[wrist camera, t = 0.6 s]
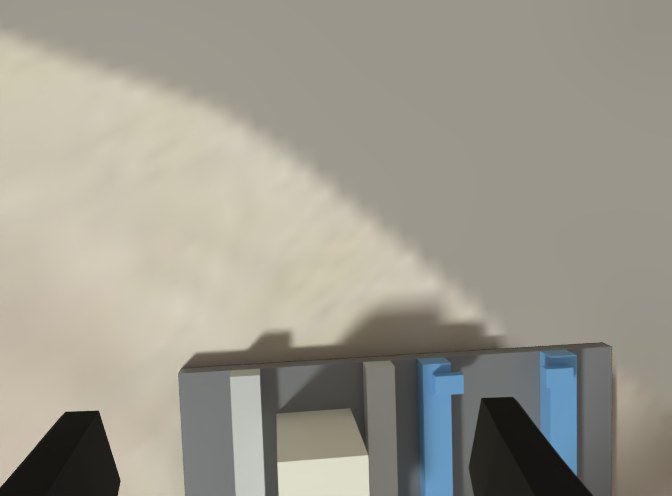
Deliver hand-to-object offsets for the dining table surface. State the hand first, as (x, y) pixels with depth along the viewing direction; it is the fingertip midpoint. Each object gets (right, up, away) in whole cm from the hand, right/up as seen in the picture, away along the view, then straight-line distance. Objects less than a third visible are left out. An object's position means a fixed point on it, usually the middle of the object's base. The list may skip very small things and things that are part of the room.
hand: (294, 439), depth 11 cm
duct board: (+5, -8, +22) cm, 24 cm away
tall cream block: (0, -9, +21) cm, 22 cm away
